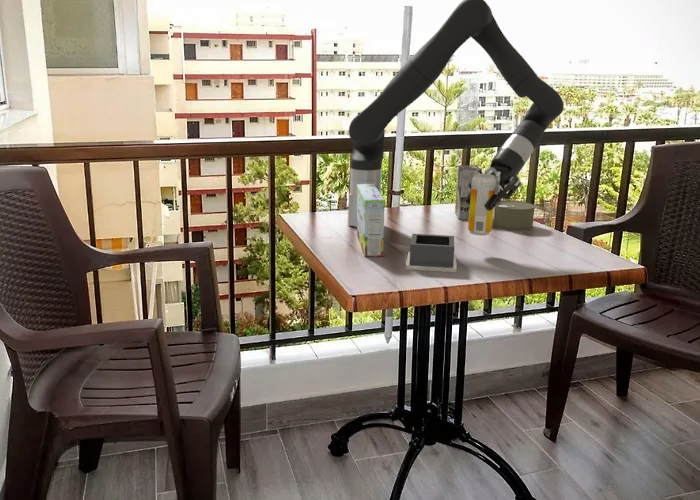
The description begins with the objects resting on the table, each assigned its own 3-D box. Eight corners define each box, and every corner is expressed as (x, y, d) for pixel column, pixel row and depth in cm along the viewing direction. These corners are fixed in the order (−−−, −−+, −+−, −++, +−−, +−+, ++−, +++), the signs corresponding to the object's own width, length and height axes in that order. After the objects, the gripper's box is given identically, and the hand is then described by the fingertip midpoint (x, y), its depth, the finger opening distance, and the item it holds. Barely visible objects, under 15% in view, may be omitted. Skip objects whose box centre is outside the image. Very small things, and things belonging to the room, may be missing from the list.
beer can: (490, 230, 173) (495, 174, 168) (492, 236, 167) (498, 178, 163) (466, 229, 173) (471, 172, 169) (468, 235, 167) (473, 177, 163)
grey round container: (541, 229, 198) (543, 207, 196) (508, 233, 193) (510, 210, 192) (517, 220, 209) (519, 199, 207) (485, 223, 204) (486, 202, 202)
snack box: (354, 235, 187) (356, 183, 183) (374, 235, 187) (376, 183, 183) (362, 257, 167) (364, 199, 162) (384, 257, 167) (387, 199, 163)
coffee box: (478, 220, 208) (482, 169, 204) (458, 219, 208) (461, 169, 204) (473, 213, 217) (477, 164, 212) (454, 213, 217) (457, 164, 212)
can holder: (405, 269, 158) (406, 245, 156) (408, 255, 169) (409, 232, 167) (456, 272, 156) (457, 248, 154) (455, 258, 167) (457, 235, 166)
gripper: (485, 143, 174) (450, 191, 170) (529, 150, 163) (492, 202, 159) (497, 161, 178) (462, 209, 175) (540, 170, 167) (505, 221, 164)
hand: (477, 205), depth 167 cm, fingers closed on beer can, 6 cm apart
